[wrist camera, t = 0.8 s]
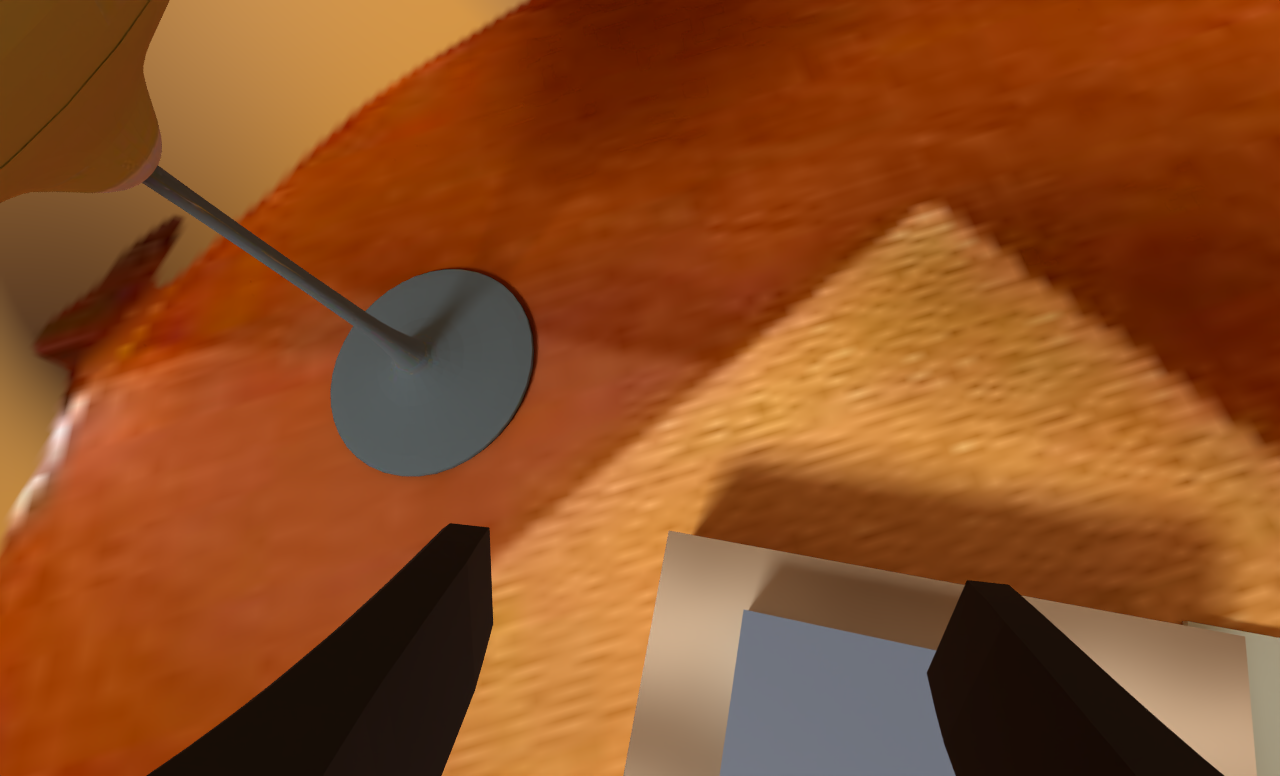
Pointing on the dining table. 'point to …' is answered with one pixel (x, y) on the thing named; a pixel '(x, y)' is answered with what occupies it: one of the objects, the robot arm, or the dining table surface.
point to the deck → (906, 613)
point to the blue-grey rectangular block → (829, 704)
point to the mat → (1261, 695)
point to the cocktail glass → (381, 336)
